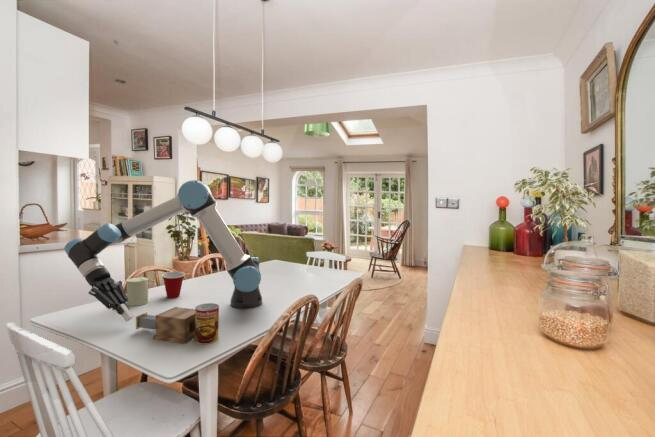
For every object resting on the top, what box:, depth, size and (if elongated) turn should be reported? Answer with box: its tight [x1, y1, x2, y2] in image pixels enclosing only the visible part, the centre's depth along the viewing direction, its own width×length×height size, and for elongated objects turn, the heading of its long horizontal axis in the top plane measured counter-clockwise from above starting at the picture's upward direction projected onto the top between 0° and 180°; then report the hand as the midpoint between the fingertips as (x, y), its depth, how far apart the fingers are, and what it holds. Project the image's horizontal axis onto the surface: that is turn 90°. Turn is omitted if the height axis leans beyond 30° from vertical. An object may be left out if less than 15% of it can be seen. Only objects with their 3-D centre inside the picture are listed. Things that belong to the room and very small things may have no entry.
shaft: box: [135, 312, 191, 331], centre depth 118 cm, size 21×5×5 cm, turn 76°
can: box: [125, 277, 149, 307], centre depth 152 cm, size 9×9×12 cm
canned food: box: [194, 302, 220, 345], centre depth 114 cm, size 8×8×12 cm
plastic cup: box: [161, 271, 186, 299], centre depth 164 cm, size 11×11×12 cm
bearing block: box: [152, 306, 195, 345], centre depth 117 cm, size 13×11×8 cm
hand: (129, 319), depth 121 cm, fingers closed
